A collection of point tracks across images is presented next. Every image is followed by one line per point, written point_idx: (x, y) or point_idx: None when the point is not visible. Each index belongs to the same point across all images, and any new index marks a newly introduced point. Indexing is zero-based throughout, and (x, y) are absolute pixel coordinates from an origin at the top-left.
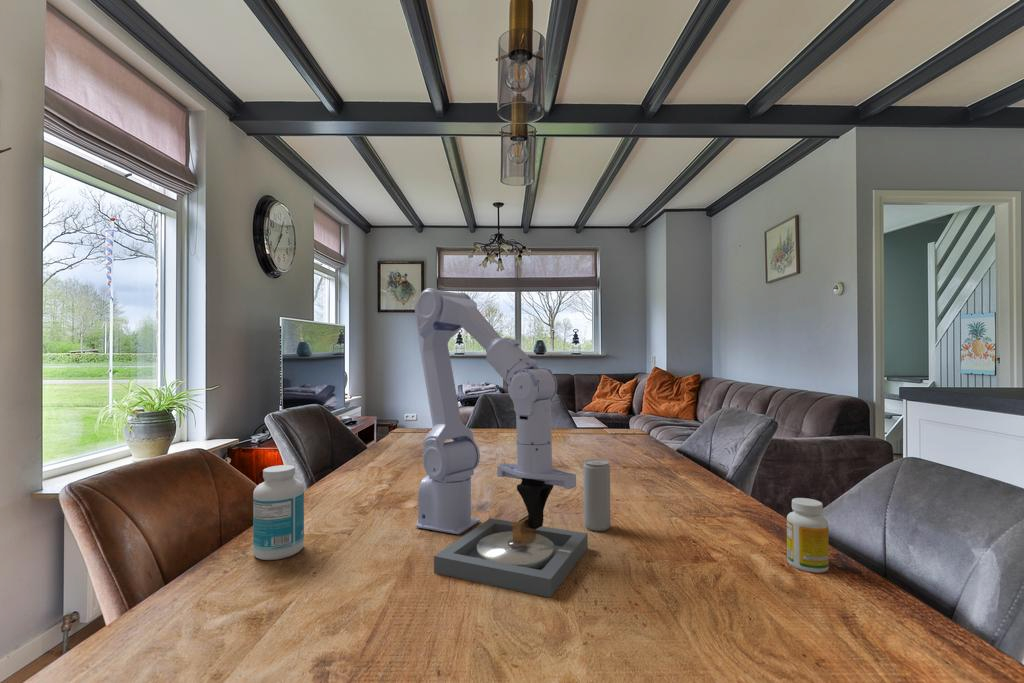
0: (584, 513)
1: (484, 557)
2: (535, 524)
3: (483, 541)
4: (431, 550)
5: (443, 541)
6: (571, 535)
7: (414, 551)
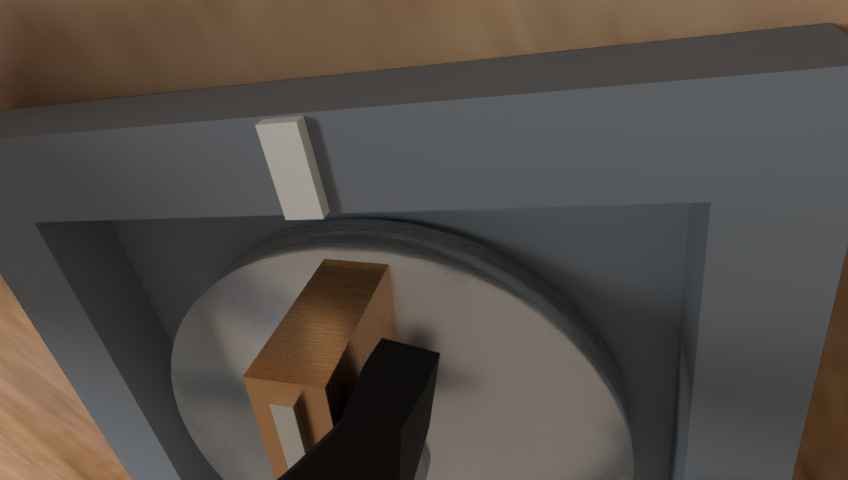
0: None
1: None
2: (420, 456)
3: (218, 448)
4: (66, 407)
5: (4, 323)
6: (701, 201)
7: (38, 429)
